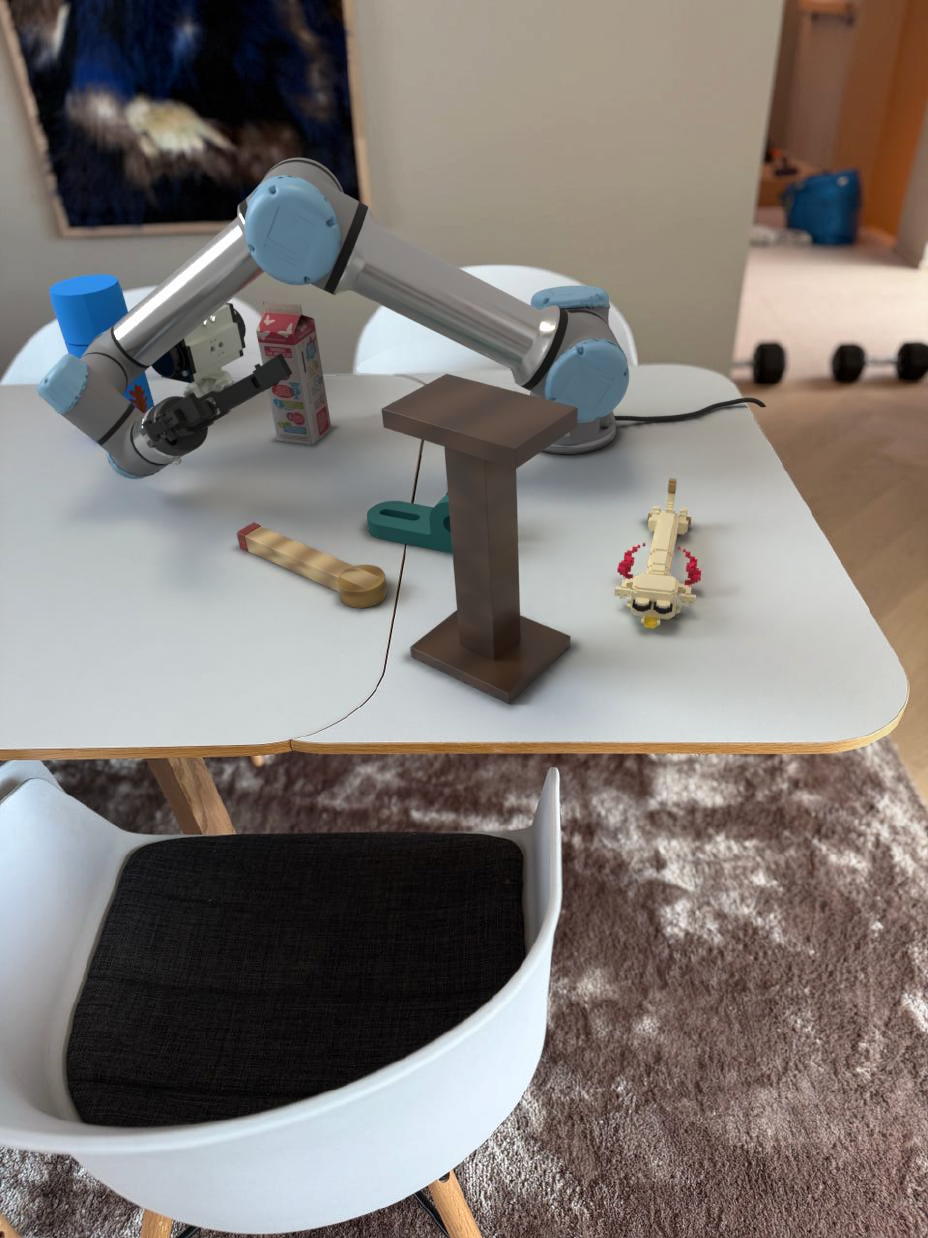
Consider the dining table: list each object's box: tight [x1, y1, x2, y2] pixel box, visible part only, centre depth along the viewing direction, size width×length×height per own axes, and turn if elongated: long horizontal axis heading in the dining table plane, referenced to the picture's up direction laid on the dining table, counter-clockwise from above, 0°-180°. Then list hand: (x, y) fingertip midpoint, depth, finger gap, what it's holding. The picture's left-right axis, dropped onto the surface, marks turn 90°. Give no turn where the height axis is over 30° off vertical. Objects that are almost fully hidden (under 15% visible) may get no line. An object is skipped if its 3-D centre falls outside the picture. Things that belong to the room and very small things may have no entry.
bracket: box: [366, 491, 453, 555], centre depth 124 cm, size 18×7×8 cm, turn 65°
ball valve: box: [150, 302, 247, 403], centre depth 162 cm, size 18×8×18 cm, turn 149°
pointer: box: [236, 521, 388, 609], centre depth 120 cm, size 25×6×3 cm, turn 52°
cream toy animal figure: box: [614, 477, 702, 629], centre depth 112 cm, size 10×9×25 cm
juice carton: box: [255, 301, 332, 446], centre depth 147 cm, size 7×7×22 cm
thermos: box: [48, 274, 155, 414], centre depth 152 cm, size 11×11×25 cm
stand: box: [380, 373, 578, 705], centre depth 96 cm, size 16×12×30 cm
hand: (243, 383), depth 109 cm, fingers open, 13 cm apart
